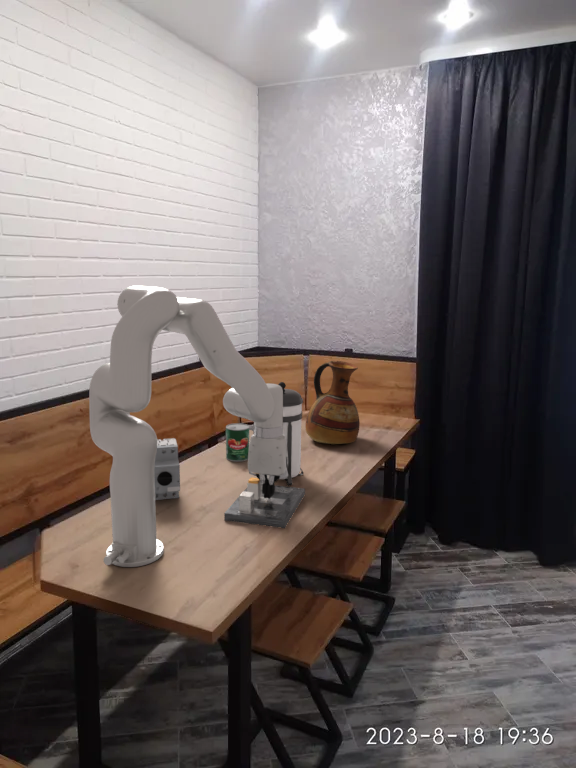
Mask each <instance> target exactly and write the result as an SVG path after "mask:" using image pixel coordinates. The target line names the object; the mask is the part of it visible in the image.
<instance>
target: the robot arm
mask: <svg viewBox="0 0 576 768" xmlns="http://www.w3.org/2000/svg"><path fill="white" fill-rule="evenodd" d="M117 310H118V312H119V315H120V316H121V318H120V319H119V320H118V322H117V323H116V325H115V327H114V330H113V332H112V335H111V340H110V352H109V354H110V355H109V362H107V363H104V364H102V365H100V366H99V367H98V368H97V369H96V370H95V371H94V373H93V375H92V377H91V379H90V383H89V395H88V396H89V400H88V401H89V404H88V405H89V406H88V407H89V409H88V410H89V430H90V436H91V439H92V442H93V443H94V444H95V445H96V446H97V448H99V449H100V450H102V451H104V452H105V453H108V454H109V455H111V456H112V464H111V468H110V473H109V492H110V512H111V529H112V530H111V532H112V543H111V544H110V545H109V546H108V548H107V549H106V550H105V556H104V558H103V563H104V564H105V565H106V566H110V565H114V566H117V567H121V568H122V567H123V568H135V567H136V568H137V567H143V566H145V565H150V564H151V563H154V562H155V561H157V560H158V559H160V558H161V557H162V556H163V555H164V552H165V549H164V546H165V545H164V544H163V542H162V541H161V540H159V539H158V538H157V517H156V516H157V514H156V500H155V481H154V467H155V458H156V452H157V439H158V437H157V433H156V431H155V430H154V428H153V426H151V424H149V423H148V422H146V421H145V420H143V419H141V418H138V417H136V416H135V415H132V414H130V413H139V412H141V411H143V410H145V409H146V408H147V407H148V406H149V404H150V401H151V398H152V356H153V346H154V343H155V341H156V339H157V337H158V335H160V333H161V332H162V331H165V332H171V333H177V334H182V335H185V336H186V337H187V340H188V342H189V343H190V345H191V346H192V348H193V349H194V351H195V353H196V354H197V356H198V358H199V360H200V362H201V364H202V365H203V367H204V368H205V369H206V370H207V371H208V372H209V373H210V374H211V375H213V376H215V377H216V378H217V379H219V380H221V381H222V382H224V383H226V385H228V386H229V387H230V389H229V390H227V391H226V392H225V393H224V395H223V398H222V405H223V408H224V409H225V410H226V412H228V413H229V414H231V415H232V416H236V417H239V418H242V419H245V420H248V421H251V422H253V424H249V431H252V434H251V435H250V438H249V453H248V460H247V470H248V474H249V475H251V476H254V477H255V478H258V479H259V480H260V482H261V483H262V493H263V494H264V498H268V499H270V498H271V497H272V495H274V492H275V485H276V482H277V481H279V480H284V479H283V478H287V477H288V471H287V469H288V452H287V444H286V439H285V436H284V435H283V390H282V387H281V386H279V385H278V384H277V383H266V381H265V379H264V378H263V377H262V375H261V374H260V373H259V372H258V370H256V369H255V368H254V366H252V364H251V363H250V362H249V361H248V360H247V359H246V358H245V357H244V356H243V355H242V354H240V352H239V351H238V350H237V349H236V347H235V345H234V344H233V342H232V341H231V339H230V337H229V335H228V333H227V330H226V329H225V327H224V325H223V323H222V322H221V320H220V318H219V316H218V314H217V312H216V310H215V309H214V308H213V306H212V305H211V304H210V303H209V302H208V301H206V300H203V299H199V298H190V297H188V298H187V297H180V296H177V295H176V293H174V292H173V291H172V290H170V289H168V288H164V287H159V286H147V285H132V286H131V285H130V286H128V287H126V288H125V289H124V290H122V291H121V292H120V294H119V296H118V298H117ZM268 475H270V479H269V480H268Z"/></svg>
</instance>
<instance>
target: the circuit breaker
mask: <svg viewBox="0 0 576 768" xmlns="http://www.w3.org/2000/svg"><path fill="white" fill-rule="evenodd" d="M180 468H181V466H180V462H179V445H178V443H177V439H176V438H174V437H173V438H163V439H161V438H160V439H158V438H157V452H156V458H155V467H154V481H155V501H160V500H169V499H170V500H171V499H172V500H173V499H179V498H180V492H181V474H180V473H181V471H180V470H181V469H180Z"/></svg>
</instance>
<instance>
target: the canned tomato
mask: <svg viewBox="0 0 576 768" xmlns="http://www.w3.org/2000/svg"><path fill="white" fill-rule="evenodd" d="M249 426H250V424H246V423H238V422H236V423H229V424H227V425H226V426H225V451H226V452H225V454H226V455H225V459H226V460H227V461H230V462H236V463H237V462H244V461H248V453H249V444H250V430H249Z"/></svg>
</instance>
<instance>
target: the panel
mask: <svg viewBox="0 0 576 768" xmlns="http://www.w3.org/2000/svg"><path fill="white" fill-rule="evenodd" d="M269 479H270V475H268V480H269ZM304 495H305V496H306V488H303V487H302V488H301V487H293V486H287V485H285V486H284V485H276V484H275V492H274V495H272V497H271V498H270V499H268V498H264V494H263V493H262V483H261V497H260V498H259V499H258V500H254V492H247V487H246V488H245V489H244V490H243V491H242V492H241V493H240V494H239V496H238V497H237V498H236V499H235V500H234V501H233V502H232V504H231V505H230V506H229V507H228V508H227V509H226V510H225V512H224V513H223V515H224V517H223V518H224V520H223V521H225V522H233V523H240V524H248V525H255V524H259V525H258V526H263V525H266V526H265V527H270V526H272V527H271V528H278V527H281V528H280V529H286V527H287V526H286V525H288V524H289V522H290V521H291V519H292V517H293V516H294V514H295V512H296V511H295V510H297V509H298V507H299V506H300V504H301V503H302V501H303V499H304V498H305V496H304ZM303 497H304V498H303ZM302 498H303V499H302ZM301 500H302V501H301ZM299 503H300V504H299ZM298 505H299V506H298ZM296 508H297V509H296ZM293 513H294V514H293ZM292 515H293V516H292ZM290 518H291V519H290ZM289 520H290V521H289ZM287 523H288V524H287Z"/></svg>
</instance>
